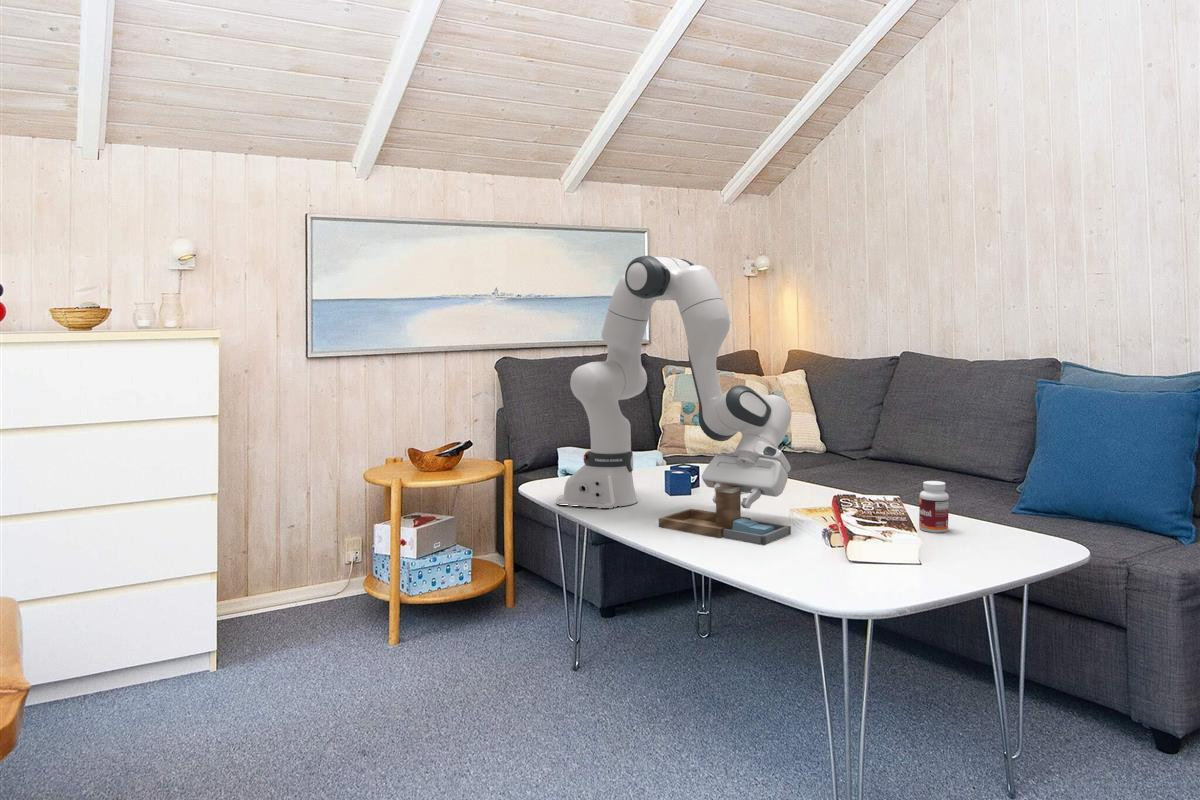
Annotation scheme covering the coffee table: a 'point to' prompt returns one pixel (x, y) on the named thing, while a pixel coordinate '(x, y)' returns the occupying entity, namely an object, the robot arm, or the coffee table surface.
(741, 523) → the pale blue block
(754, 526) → the light blue block
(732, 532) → the tray
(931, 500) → the pill bottle
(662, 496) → the coffee table surface
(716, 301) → the robot arm
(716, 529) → the slot board
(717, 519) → the block
